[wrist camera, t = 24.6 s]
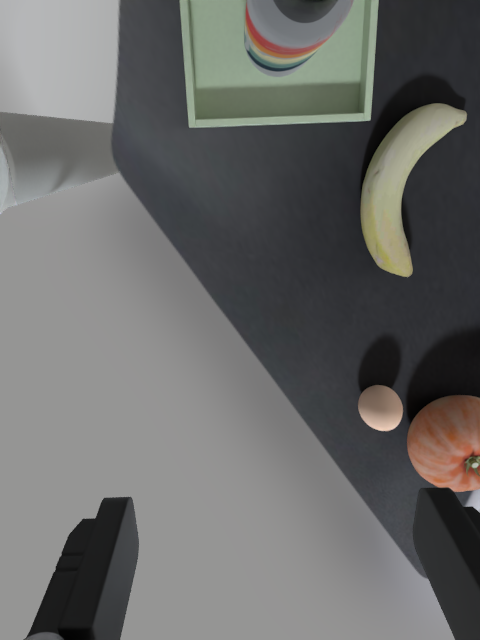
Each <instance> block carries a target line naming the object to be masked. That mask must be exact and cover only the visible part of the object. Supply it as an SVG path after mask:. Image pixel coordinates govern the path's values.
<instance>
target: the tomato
mask: <svg viewBox="0 0 480 640" xmlns="http://www.w3.org/2000/svg"><path fill="white" fill-rule="evenodd" d="M407 449H408V454H409V457H410V460H411V462H412V464H413V466H414V467H415V469H416V470H417V472H418V473H419V474H420V475H421V476H422V477H423V478H424V479H426V480H427V481H429V482H430V483H432V484H434V485H436V486H438V487H440V488H441V487H449V488H450V489H452V490H453V491H456V492H462V491H470V490H477V489H480V398H478V397H474V396H468V395H452V396H446V397H442V398H439V399H437V400H435V401H433V402H431V403H429V404H428V405H426V406H425V407H424V408H423V409H422V410H420V411H419V413H418V414H417V415H416V416H415V417H414V419H413V421H412V423H411V425H410V427H409V431H408V435H407Z"/></svg>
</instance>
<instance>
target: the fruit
mask: <svg viewBox="0 0 480 640" xmlns="http://www.w3.org/2000/svg"><path fill="white" fill-rule="evenodd" d="M466 118H467V114H466V112H465V111H463V110H459V109H456V108H453V107H451V106H449V105H446V104H441V103H434V104H429V105H425V106H422V107H420V108H417V109H415V110H413V111H411V112H410V113H408V114H407V115H405V116H404V117H403V118H402V119H401V120H400V121H399V122H397V123H396V125H395V126H394V127H393V128H392V129H391V130H390V131H389V133H388V134H387V135H386V136H385V138H384V139H383V141H382V142H381V144H380V145H379V147H378V148H377V150H376V152H375V153H374V155H373V157H372V160H371V162H370V164H369V167H368V169H367V172H366V175H365V178H364V182H363V186H362V195H361V225H362V230H363V235H364V239H365V242H366V245H367V247H368V250H369V252H370V253H371V255H372V257H373V259H374V260H375V262H376V264H377V265H378V266H379V267H380V268H382V269H384V270H386V271H388V272H391V273H394V274H397V275H400V276H404V277H408V276H410V275H412V271H413V267H412V263H411V257H410V251H409V247H408V243H407V240H406V237H405V234H404V231H403V225H402V217H401V201H402V194H403V189H404V186H405V183H406V180H407V177H408V175H409V173H410V171H411V170H412V168H413V166H414V165H415V163H416V162H417V160H418V159H419V158H420V156H421V155H422V154H423V153H424V152H425V151H426V150H427V149H428V148H430V147H431V146H432V145H433V144H434V143H436V142H437V141H438V140H439V139H441V138H442V137H443V136H444V135H446V134H447V133H448V132H449V131H450V130H451V129H453V128H455V127H457V126H460V125H463V123H464V122H465V121H466Z"/></svg>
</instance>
